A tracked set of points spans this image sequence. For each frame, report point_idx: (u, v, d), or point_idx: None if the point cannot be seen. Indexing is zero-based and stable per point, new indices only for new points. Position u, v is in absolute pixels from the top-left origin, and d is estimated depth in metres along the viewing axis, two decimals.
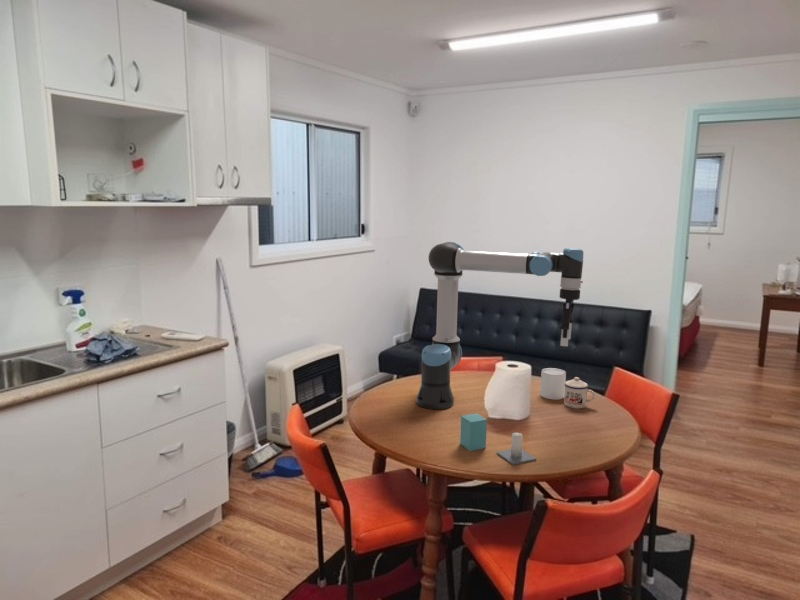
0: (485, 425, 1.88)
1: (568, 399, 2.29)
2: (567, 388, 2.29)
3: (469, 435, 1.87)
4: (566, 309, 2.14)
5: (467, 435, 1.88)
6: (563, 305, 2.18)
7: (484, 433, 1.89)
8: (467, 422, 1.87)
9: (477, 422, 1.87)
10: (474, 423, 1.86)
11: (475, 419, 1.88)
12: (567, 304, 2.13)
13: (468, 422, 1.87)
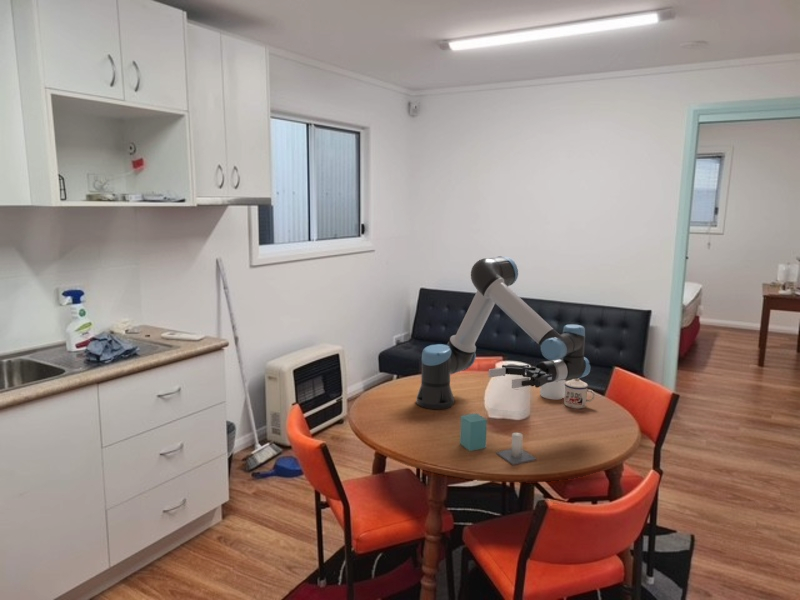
0: (485, 425, 1.88)
1: (568, 399, 2.29)
2: (567, 388, 2.29)
3: (469, 435, 1.87)
4: (547, 378, 1.91)
5: (467, 435, 1.88)
6: (540, 369, 1.96)
7: (484, 433, 1.89)
8: (467, 422, 1.87)
9: (477, 422, 1.87)
10: (474, 423, 1.86)
11: (475, 419, 1.88)
12: (551, 377, 1.92)
13: (468, 422, 1.87)
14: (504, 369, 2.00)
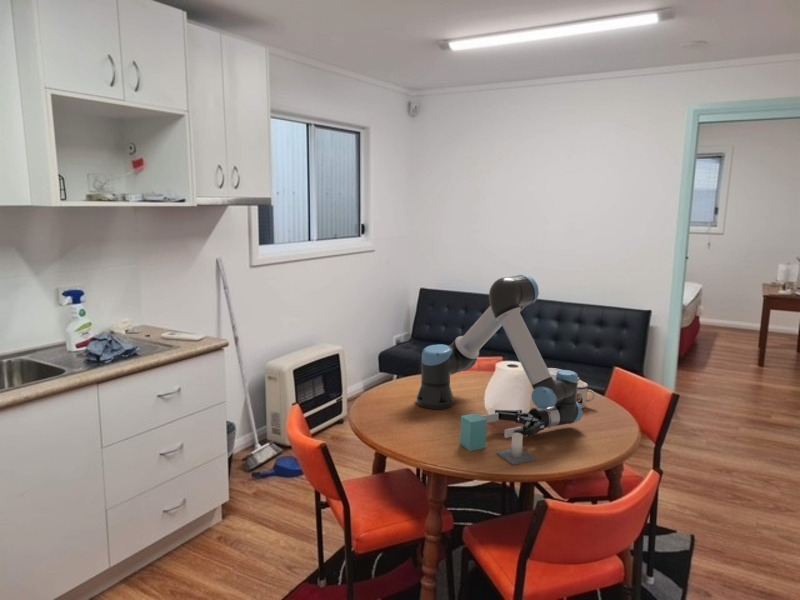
0: (485, 425, 1.88)
1: None
2: None
3: (469, 435, 1.87)
4: (539, 426, 1.93)
5: (467, 435, 1.88)
6: (532, 417, 1.97)
7: (484, 433, 1.89)
8: (467, 422, 1.87)
9: (477, 422, 1.87)
10: (474, 423, 1.86)
11: (475, 419, 1.88)
12: (543, 426, 1.94)
13: (468, 422, 1.87)
14: (497, 415, 2.01)
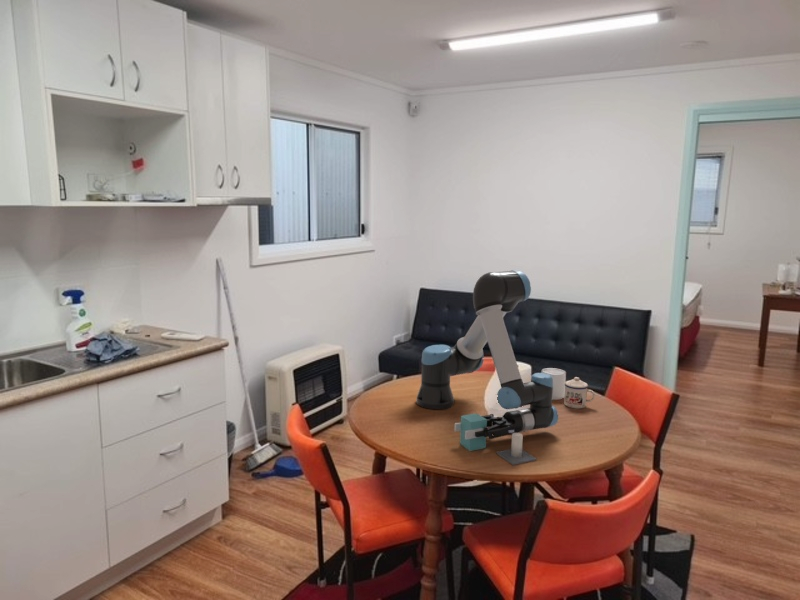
0: (485, 424, 1.88)
1: (568, 399, 2.29)
2: (567, 388, 2.29)
3: None
4: (507, 430, 1.89)
5: None
6: (505, 421, 1.93)
7: None
8: (467, 422, 1.87)
9: (477, 422, 1.87)
10: (474, 423, 1.86)
11: (475, 419, 1.88)
12: (513, 430, 1.89)
13: (468, 422, 1.87)
14: None
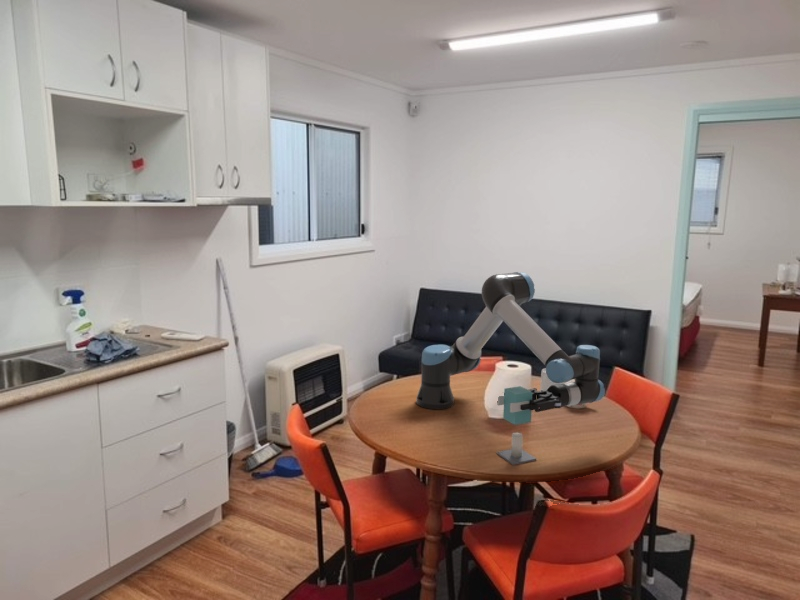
0: (530, 397, 1.78)
1: None
2: None
3: None
4: (554, 403, 1.79)
5: None
6: (550, 394, 1.83)
7: None
8: (512, 395, 1.78)
9: (523, 394, 1.77)
10: (519, 395, 1.76)
11: (520, 391, 1.78)
12: (560, 404, 1.79)
13: (513, 394, 1.77)
14: None
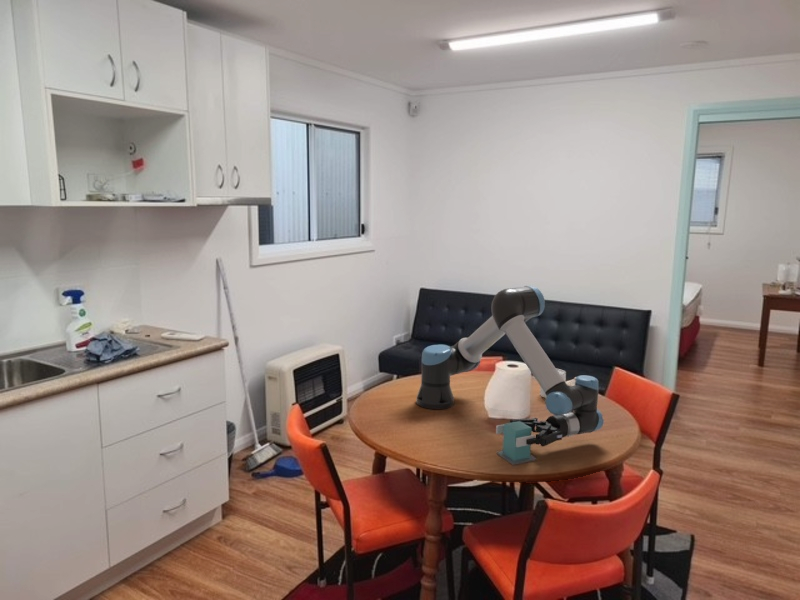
0: (530, 433, 1.80)
1: None
2: None
3: (514, 444, 1.79)
4: (556, 436, 1.80)
5: (511, 444, 1.80)
6: (550, 425, 1.84)
7: None
8: (511, 430, 1.79)
9: (522, 430, 1.79)
10: (519, 431, 1.78)
11: (519, 427, 1.80)
12: (561, 435, 1.81)
13: (512, 430, 1.79)
14: None
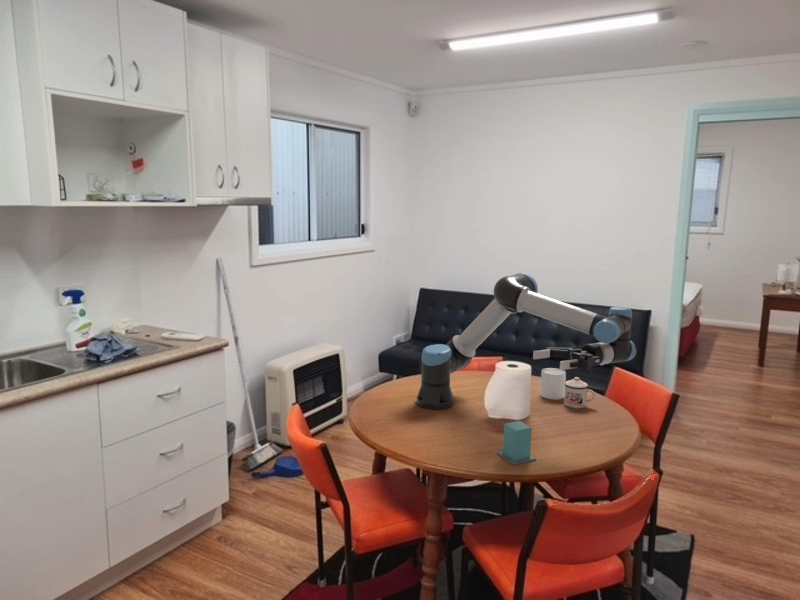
0: (530, 433, 1.80)
1: (568, 399, 2.29)
2: (567, 388, 2.29)
3: (514, 444, 1.79)
4: (594, 360, 1.86)
5: (511, 444, 1.80)
6: (586, 352, 1.91)
7: (529, 442, 1.81)
8: (511, 430, 1.79)
9: (522, 430, 1.79)
10: (519, 431, 1.78)
11: (519, 427, 1.80)
12: (598, 360, 1.87)
13: (512, 430, 1.79)
14: (549, 351, 1.95)
